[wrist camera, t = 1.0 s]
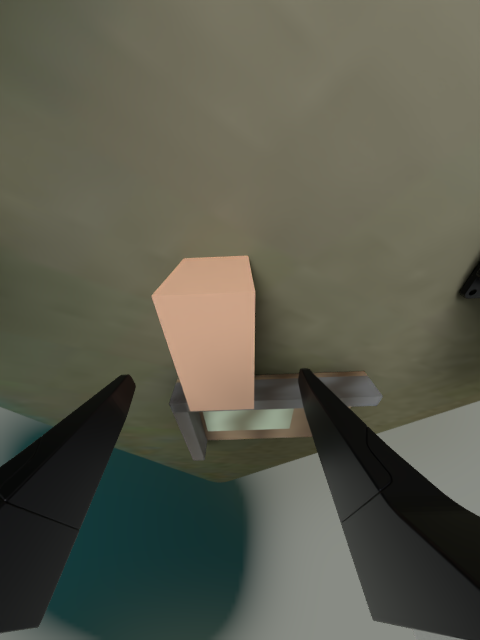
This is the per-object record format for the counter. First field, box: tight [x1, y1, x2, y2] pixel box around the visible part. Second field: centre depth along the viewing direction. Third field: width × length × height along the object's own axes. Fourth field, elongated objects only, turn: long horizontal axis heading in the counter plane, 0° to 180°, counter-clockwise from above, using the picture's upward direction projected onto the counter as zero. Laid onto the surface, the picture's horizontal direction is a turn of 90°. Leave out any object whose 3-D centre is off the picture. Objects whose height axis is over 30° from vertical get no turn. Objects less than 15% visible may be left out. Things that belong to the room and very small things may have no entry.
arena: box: [169, 371, 383, 460], centre depth 22 cm, size 20×13×3 cm, turn 92°
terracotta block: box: [152, 256, 255, 411], centre depth 13 cm, size 4×9×6 cm, turn 2°
